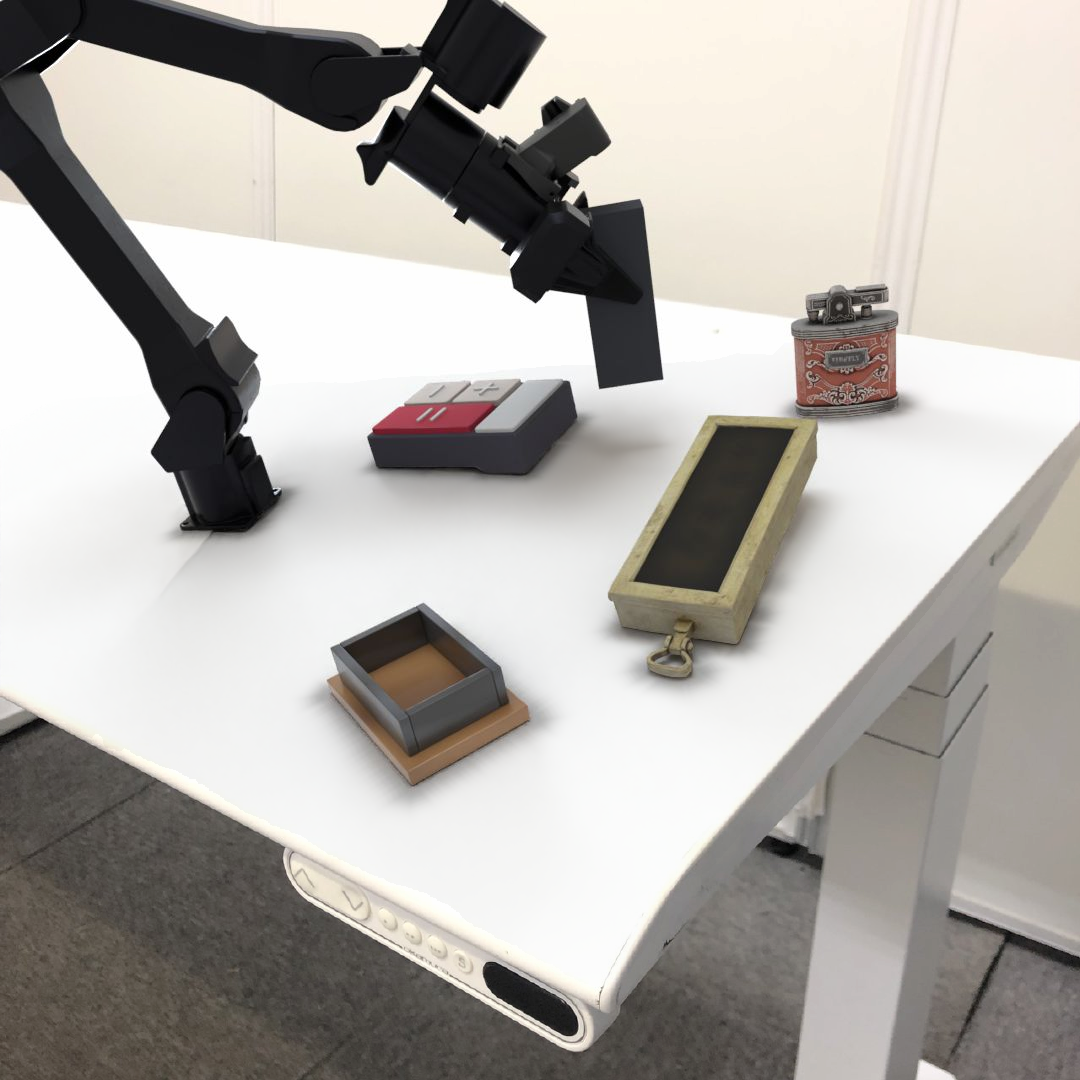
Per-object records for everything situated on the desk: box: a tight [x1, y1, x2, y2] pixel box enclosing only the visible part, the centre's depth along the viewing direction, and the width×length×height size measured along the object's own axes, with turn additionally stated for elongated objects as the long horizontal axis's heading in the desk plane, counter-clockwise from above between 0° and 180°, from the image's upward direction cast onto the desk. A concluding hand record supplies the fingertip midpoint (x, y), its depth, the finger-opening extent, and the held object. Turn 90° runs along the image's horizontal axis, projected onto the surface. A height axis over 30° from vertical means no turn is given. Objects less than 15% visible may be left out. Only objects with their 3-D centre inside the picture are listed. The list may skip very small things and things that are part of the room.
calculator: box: [366, 378, 578, 475], centre depth 90 cm, size 11×4×15 cm
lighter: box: [790, 283, 899, 419], centre depth 82 cm, size 8×3×10 cm, turn 80°
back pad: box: [579, 198, 664, 390], centre depth 78 cm, size 5×4×13 cm
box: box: [607, 414, 819, 678], centre depth 65 cm, size 8×22×5 cm, turn 153°
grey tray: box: [326, 602, 531, 786], centre depth 59 cm, size 11×8×4 cm
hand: (637, 291), depth 78 cm, fingers closed on back pad, 3 cm apart
